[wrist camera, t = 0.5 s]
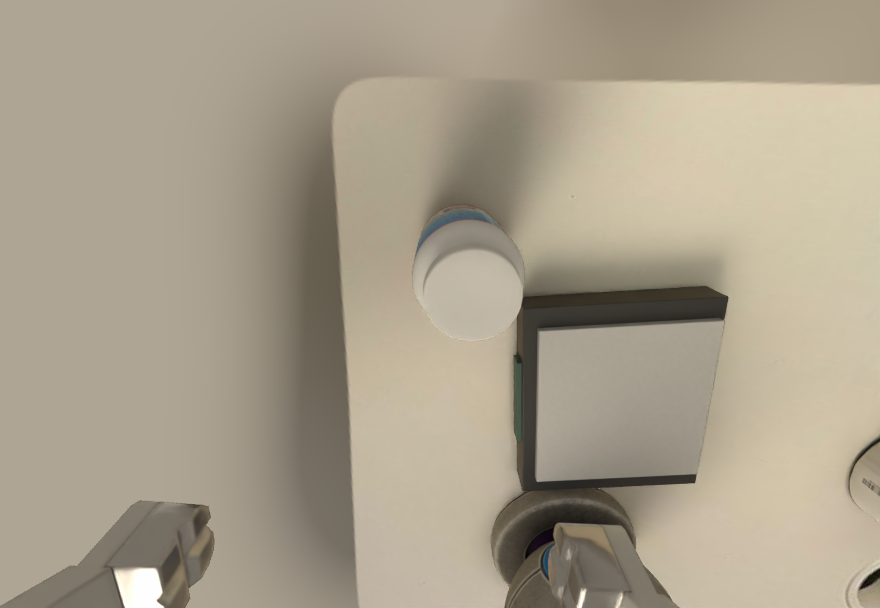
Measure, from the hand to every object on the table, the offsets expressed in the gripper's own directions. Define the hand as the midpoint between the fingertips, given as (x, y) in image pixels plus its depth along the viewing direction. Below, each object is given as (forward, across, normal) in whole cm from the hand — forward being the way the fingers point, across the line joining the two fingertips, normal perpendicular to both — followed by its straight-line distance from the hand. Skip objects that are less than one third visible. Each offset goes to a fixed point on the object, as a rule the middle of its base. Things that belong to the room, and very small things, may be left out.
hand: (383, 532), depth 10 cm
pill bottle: (+22, -3, -2) cm, 22 cm away
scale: (+22, -15, +8) cm, 28 cm away
